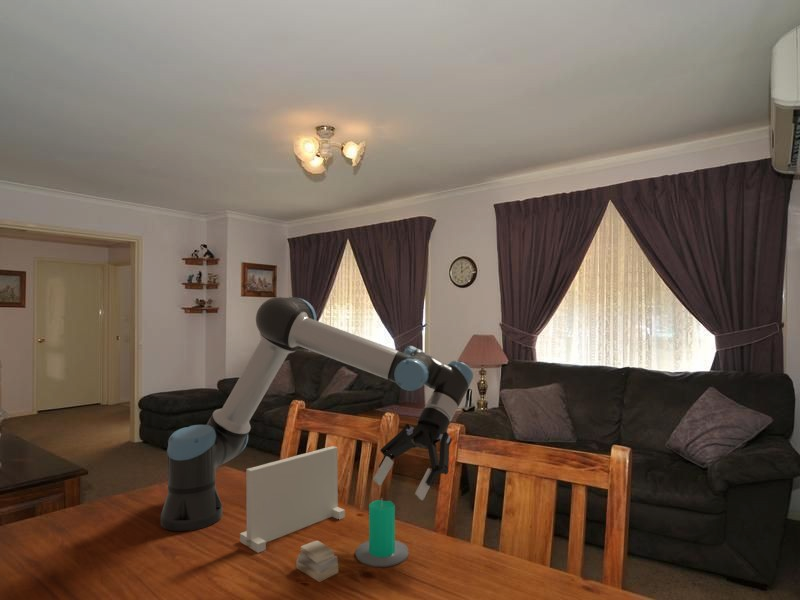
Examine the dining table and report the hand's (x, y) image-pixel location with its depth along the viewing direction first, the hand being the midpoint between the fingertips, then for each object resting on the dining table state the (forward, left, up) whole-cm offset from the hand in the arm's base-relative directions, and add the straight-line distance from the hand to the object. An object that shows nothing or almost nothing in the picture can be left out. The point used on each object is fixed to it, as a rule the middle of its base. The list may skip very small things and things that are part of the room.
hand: (396, 489), depth 120 cm
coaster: (0, -5, -13) cm, 14 cm away
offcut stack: (-5, -19, -13) cm, 24 cm away
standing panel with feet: (-25, -11, -13) cm, 30 cm away
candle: (0, -5, -13) cm, 14 cm away
